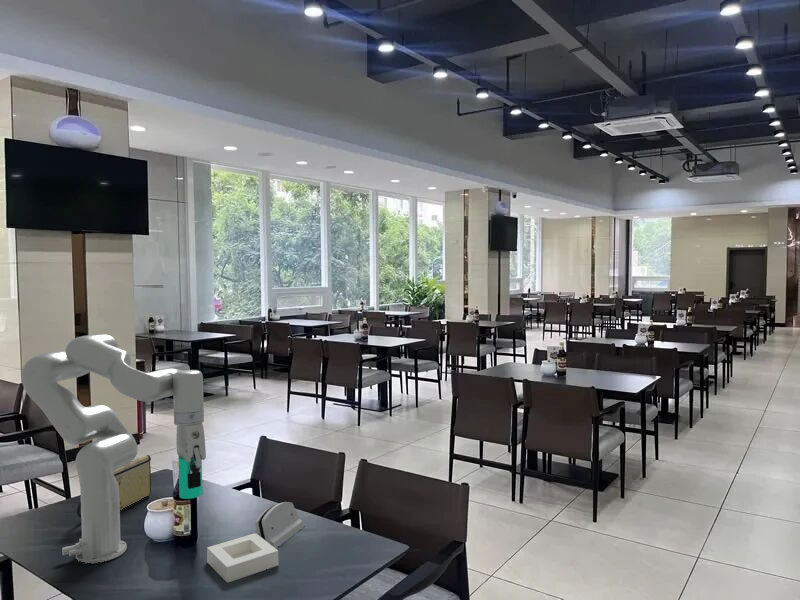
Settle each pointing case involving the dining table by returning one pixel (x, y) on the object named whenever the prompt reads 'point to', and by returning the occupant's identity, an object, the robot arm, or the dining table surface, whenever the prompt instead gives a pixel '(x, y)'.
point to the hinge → (278, 523)
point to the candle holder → (242, 557)
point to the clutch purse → (132, 482)
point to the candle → (183, 481)
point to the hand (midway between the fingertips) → (190, 483)
